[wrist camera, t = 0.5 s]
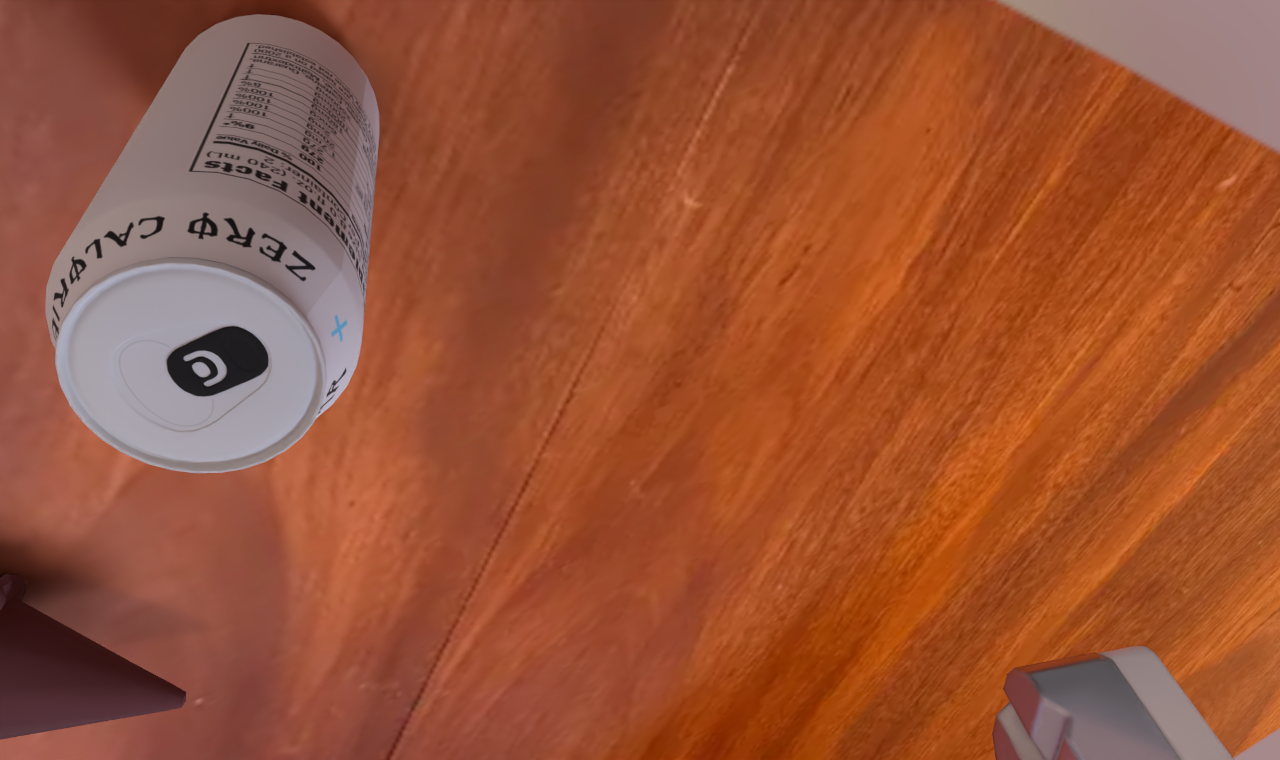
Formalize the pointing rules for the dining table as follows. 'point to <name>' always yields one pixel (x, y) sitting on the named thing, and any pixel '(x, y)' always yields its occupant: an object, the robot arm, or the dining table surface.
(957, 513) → the dining table surface
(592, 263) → the dining table surface
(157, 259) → the energy drink can
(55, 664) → the maroon pointed figurine
